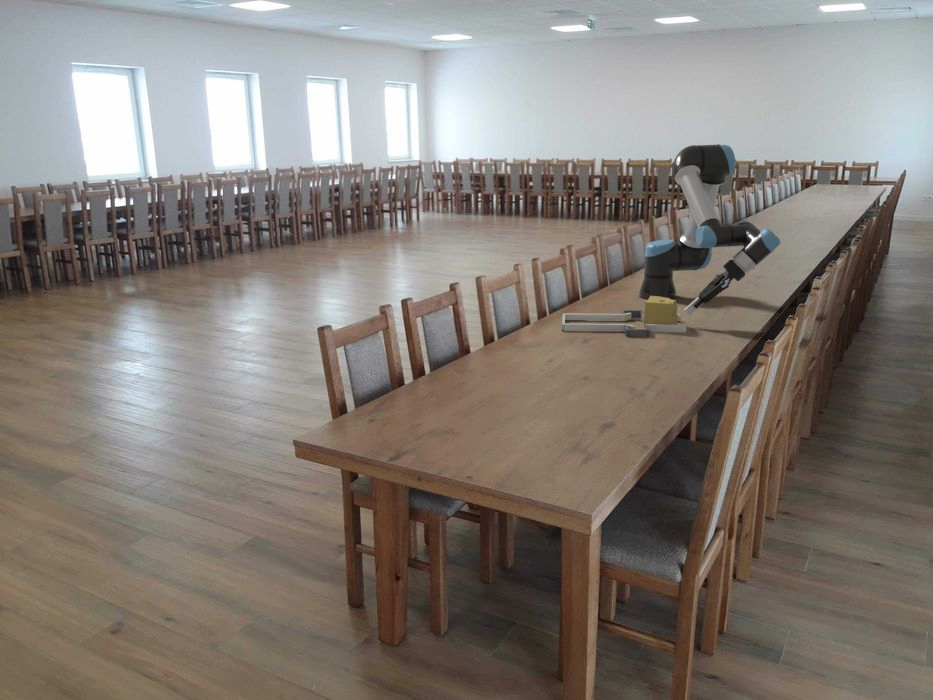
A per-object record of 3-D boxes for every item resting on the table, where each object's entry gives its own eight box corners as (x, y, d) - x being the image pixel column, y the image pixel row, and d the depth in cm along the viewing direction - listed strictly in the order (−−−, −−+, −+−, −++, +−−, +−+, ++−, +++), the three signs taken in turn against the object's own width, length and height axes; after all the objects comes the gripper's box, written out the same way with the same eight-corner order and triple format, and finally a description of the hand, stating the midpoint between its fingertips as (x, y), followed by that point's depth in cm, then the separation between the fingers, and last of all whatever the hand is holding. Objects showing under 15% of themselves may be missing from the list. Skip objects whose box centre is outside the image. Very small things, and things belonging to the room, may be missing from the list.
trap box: (562, 315, 290) (563, 309, 289) (677, 316, 284) (678, 310, 283) (561, 335, 262) (561, 328, 262) (688, 337, 256) (689, 330, 255)
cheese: (677, 324, 274) (678, 297, 271) (672, 331, 264) (673, 303, 261) (648, 321, 278) (649, 295, 275) (642, 329, 269) (643, 301, 266)
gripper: (750, 277, 256) (696, 324, 263) (742, 270, 268) (691, 315, 275) (735, 261, 255) (682, 309, 262) (728, 255, 268) (677, 301, 275)
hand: (686, 312), depth 269 cm, fingers closed
